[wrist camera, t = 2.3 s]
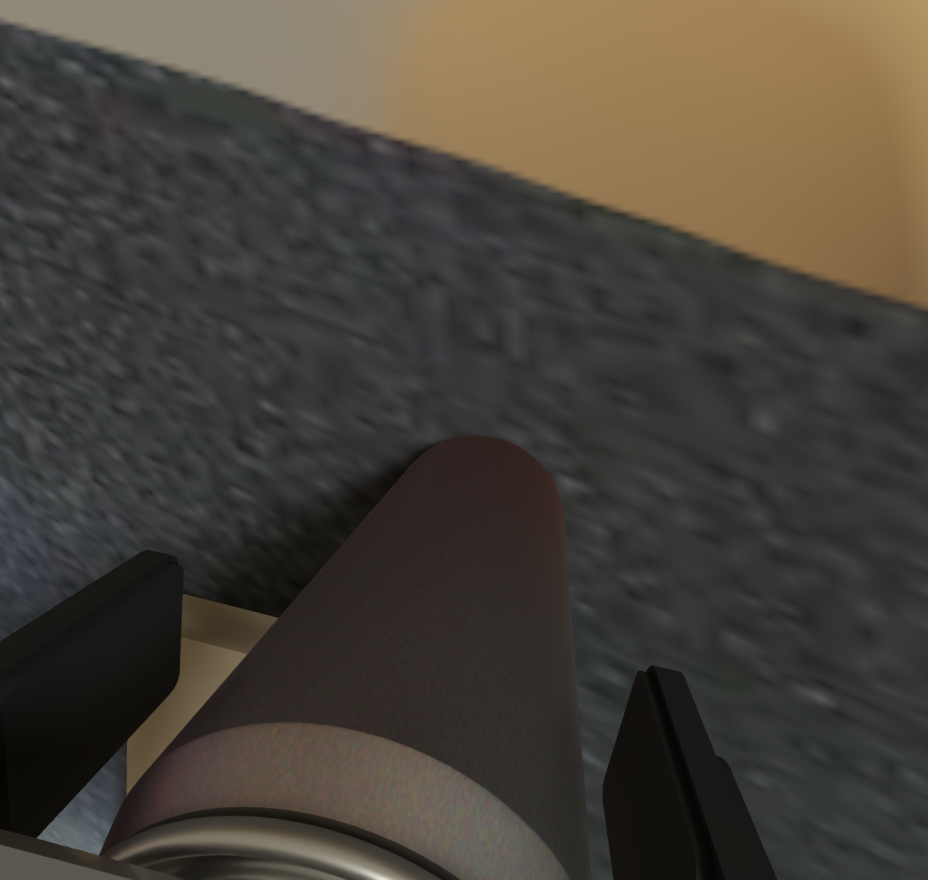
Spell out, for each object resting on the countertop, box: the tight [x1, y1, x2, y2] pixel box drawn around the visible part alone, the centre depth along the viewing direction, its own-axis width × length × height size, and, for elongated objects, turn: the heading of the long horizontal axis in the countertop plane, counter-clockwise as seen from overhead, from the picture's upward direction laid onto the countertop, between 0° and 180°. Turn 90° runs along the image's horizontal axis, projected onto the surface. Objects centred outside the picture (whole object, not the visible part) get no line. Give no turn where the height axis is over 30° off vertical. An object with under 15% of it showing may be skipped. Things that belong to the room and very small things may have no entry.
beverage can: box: [99, 436, 592, 880], centre depth 12 cm, size 6×6×15 cm
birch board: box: [127, 594, 278, 795], centre depth 23 cm, size 16×16×2 cm
